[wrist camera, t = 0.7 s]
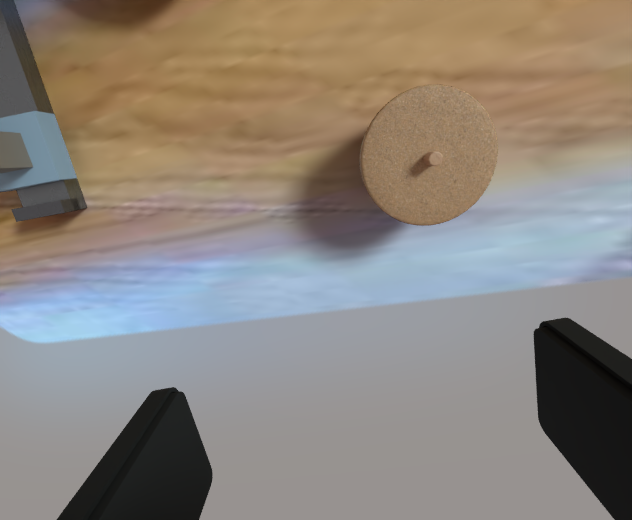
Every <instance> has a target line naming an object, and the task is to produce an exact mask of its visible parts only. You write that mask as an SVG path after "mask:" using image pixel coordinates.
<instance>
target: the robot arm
mask: <svg viewBox="0 0 632 520" xmlns="http://www.w3.org/2000/svg"><path fill="white" fill-rule="evenodd" d="M534 349H535V367H536V384H537V385H536V386H537V403H538V418H539V422H540V425H541V427H542V429H543V431H544V432H545V434H546V435H547V436H548V437H549V439H550V440H551V441H552V442H553V444H554V445H555V446H556V447H557V448H558V450H559V451H560V452H561V453H562V455H563V456H564V457H565V458H566V460H567V461H568V462H569V463H570V465H571V466H572V467H573V468H574V470H575V471H576V472H577V473H578V475H579V476H580V477H581V478H582V479H583V481H584V482H585V483H586V484H587V486H588V487H589V488H590V489H591V491H592V492H593V493H594V495H595V496H596V497H597V498H598V499H599V501H600V502H601V503H602V505H603V506H604V507H605V508H606V509H607V511H608V512H609V513H610V514H611V516H612V517H613V518H614V519H615V520H632V359H631V358H629V357H628V356H626V355H625V354H623V353H622V352H620V351H619V350H617V349H615V348H614V347H612V346H611V345H609V344H608V343H606V342H605V341H603V340H602V339H600V338H599V337H597V336H596V335H594V334H593V333H591V332H589V331H588V330H586V329H585V328H583V327H582V326H580V325H579V324H577V323H576V322H574V321H572V320H571V319H569V318H561V319H555V320H549V321H544V322H542V323H541V324H540V326H539V328H538V329H535V331H534ZM211 483H212V469H211V465H210V463H209V460H208V457H207V455H206V451H205V449H204V446H203V443H202V441H201V438H200V435H199V432H198V430H197V427H196V424H195V422H194V419H193V416H192V413H191V410H190V408H189V405H188V402H187V400H186V397H185V395H184V393H183V392H179V391H178V390H177V389H176V388H174V387H172V388H166V389H161V390H155V391H152V392H151V393H150V394H149V396H148V397H147V398H146V400H145V401H144V402H143V404H142V405H141V406H140V408H139V409H138V410H137V412H136V413H135V415H134V416H133V417H132V419H131V420H130V421H129V423H128V424H127V425H126V427H125V428H124V429H123V431H122V432H121V433H120V435H119V436H118V437H117V439H116V440H115V442H114V443H113V444H112V446H111V447H110V448H109V450H108V451H107V452H106V454H105V455H104V456H103V458H102V459H101V461H100V462H99V463H98V465H97V466H96V467H95V469H94V470H93V471H92V473H91V474H90V476H89V477H88V478H87V480H86V481H85V482H84V483H83V485H82V486H81V487H80V489H79V490H78V492H77V493H76V494H75V496H74V497H73V498H72V500H71V501H70V502H69V504H68V505H67V507H66V508H65V509H64V510H63V512H62V513H61V515H60V516H59V517H58V519H57V520H199V518H200V515H201V512H202V509H203V506H204V504H205V500H206V498H207V495H208V492H209V489H210V486H211Z"/></svg>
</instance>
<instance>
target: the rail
mask: <svg viewBox="0 0 632 520" xmlns="http://www.w3.org/2000/svg"><path fill="white" fill-rule="evenodd" d="M31 111H39V112H45V113H51V114H54V113H53V110H52V107H51V104H50V102H49V99H48V96H47V93H46V90H45V88H44V85H43V82H42V79H41V76H40V73H39V71H38V68H37V65H36V62H35V59H34V57H33V54H32V51H31V48H30V45H29V43H28V40H27V37H26V34H25V31H24V28H23V26H22V23H21V20H20V17H19V14H18V12H17V9H16V6H15V3H14V0H0V118H3V117H8V116H12V115H17V114H22V113H27V112H31ZM16 191H17V193H18V196H19V198H20V201H21V203H22V206H23V207H22V208H17V209H12V212H13V214H14V217H15V219H16V222H17V221H23V220H28V219H33V218H39V217H44V216H49V215H55V214H60V213H65V212H70V211H75V210H80V209H84V208H87V206H86V203H85V200H84V197H83V194H82V192H81V189H80V186H79V183H78V180H77V178H75V179H69V180H61V181H56V182H51V183H46V184H41V185H35V186H30V187H25V188H20V189H16Z"/></svg>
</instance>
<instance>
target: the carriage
mask: <svg viewBox="0 0 632 520" xmlns="http://www.w3.org/2000/svg"><path fill="white" fill-rule="evenodd" d="M75 178H77V176H76V174H75V171H74V168H73V165H72V162H71V160H70V157H69V154H68V151H67V148H66V145H65V143H64V140H63V137H62V134H61V131H60V129H59V126H58V123H57V120H56V117H55V114H51V113H45V112H39V111H31V112H27V113H22V114H17V115H12V116H8V117H3V118H0V192H5V191H13V190H16V189H20V188H25V187H30V186H35V185H41V184H46V183H51V182H56V181H61V180H69V179H75Z"/></svg>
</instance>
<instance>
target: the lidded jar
mask: <svg viewBox="0 0 632 520" xmlns="http://www.w3.org/2000/svg"><path fill="white" fill-rule="evenodd" d="M497 154H498V144H497V136H496V131H495V128H494V125H493V123H492V120H491V118H490V116H489V115H488V113H487V111H486V110H485V109H484V107H483V106H482V105H481V104H480V103H479V102H478V101H477V100H476V99H475V98H473V97H472V96H471V95H469V94H468V93H466V92H464V91H462V90H460V89H457V88H454V87H452V86H446V85H424V86H419V87H415V88H413V89H410V90H407V91H405V92H403V93H401V94H400V95H398V96H396V97H395V98H393V99H392V100H391V101H390V102H388V103H387V104H386V105H385V106H384V107H383V108H382V109H381V110H380V111H379V112H378V113H377V115H376V116H375V117H374V119H373V120H372V122H371V123H370V125H369V127H368V129H367V131H366V133H365V135H364V138H363V141H362V144H361V150H360V171H361V176H362V179H363V183H364V185H365V187H366V189H367V191H368V194H369V195H370V197H371V198H372V200H373V201H374V202H375V203H376V204H377V206H378V207H379V208H380V209H381V210H383V211H384V212H385V213H387V214H388V215H389V216H391V217H393V218H395V219H397V220H399V221H401V222H404V223H407V224H413V225H434V224H440V223H443V222H446V221H449V220H451V219H453V218H455V217H457V216H459V215H461V214H462V213H464V212H465V211H467V210H468V209H469V208H470V207H471V206H472V205H474V204H475V203H476V202H477V200H478V199H479V198H480V197H481V196H482V195H483V193H484V191H485V190H486V188H487V187H488V185H489V183H490V181H491V178H492V176H493V174H494V170H495V167H496V162H497Z"/></svg>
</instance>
